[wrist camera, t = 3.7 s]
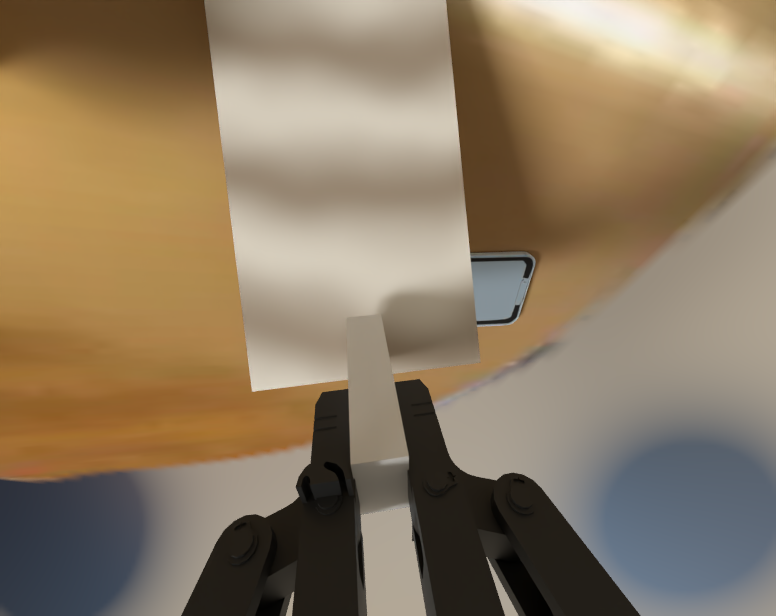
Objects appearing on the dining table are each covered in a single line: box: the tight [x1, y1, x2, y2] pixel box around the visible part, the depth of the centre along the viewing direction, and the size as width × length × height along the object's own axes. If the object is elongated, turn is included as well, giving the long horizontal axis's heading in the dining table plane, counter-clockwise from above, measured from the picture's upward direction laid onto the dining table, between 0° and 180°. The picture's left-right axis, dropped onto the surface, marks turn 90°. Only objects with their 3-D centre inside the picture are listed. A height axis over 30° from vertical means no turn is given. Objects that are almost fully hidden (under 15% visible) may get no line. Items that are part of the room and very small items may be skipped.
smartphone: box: [470, 251, 535, 326], centre depth 27 cm, size 7×1×15 cm
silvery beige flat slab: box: [204, 0, 480, 392], centre depth 15 cm, size 19×11×2 cm
